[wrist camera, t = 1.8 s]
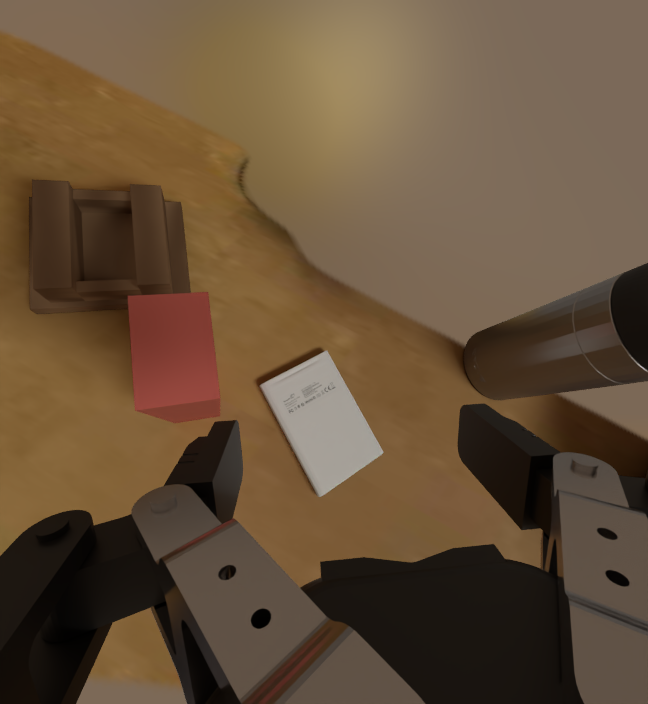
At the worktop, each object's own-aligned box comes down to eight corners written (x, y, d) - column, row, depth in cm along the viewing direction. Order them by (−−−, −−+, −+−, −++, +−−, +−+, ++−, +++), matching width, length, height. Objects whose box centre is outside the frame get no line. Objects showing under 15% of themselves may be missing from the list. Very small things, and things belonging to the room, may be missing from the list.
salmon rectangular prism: (213, 355, 34) (208, 292, 19) (219, 416, 33) (220, 398, 18) (169, 360, 33) (127, 295, 18) (175, 423, 31) (134, 410, 16)
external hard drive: (315, 495, 34) (258, 386, 35) (378, 451, 37) (323, 352, 38) (320, 497, 33) (259, 384, 33) (384, 452, 36) (328, 349, 36)
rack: (181, 209, 36) (177, 181, 33) (191, 305, 34) (188, 288, 30) (35, 205, 32) (10, 173, 28) (37, 314, 30) (9, 295, 26)
